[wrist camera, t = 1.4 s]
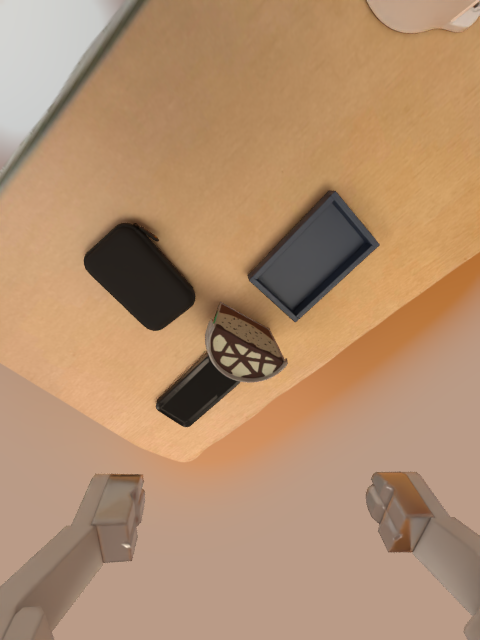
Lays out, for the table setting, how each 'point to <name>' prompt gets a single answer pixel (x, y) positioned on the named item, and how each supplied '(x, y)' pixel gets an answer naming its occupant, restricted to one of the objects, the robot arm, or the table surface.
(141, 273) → the carrying case
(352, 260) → the tray
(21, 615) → the robot arm
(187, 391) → the phone
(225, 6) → the table surface
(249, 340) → the food container
